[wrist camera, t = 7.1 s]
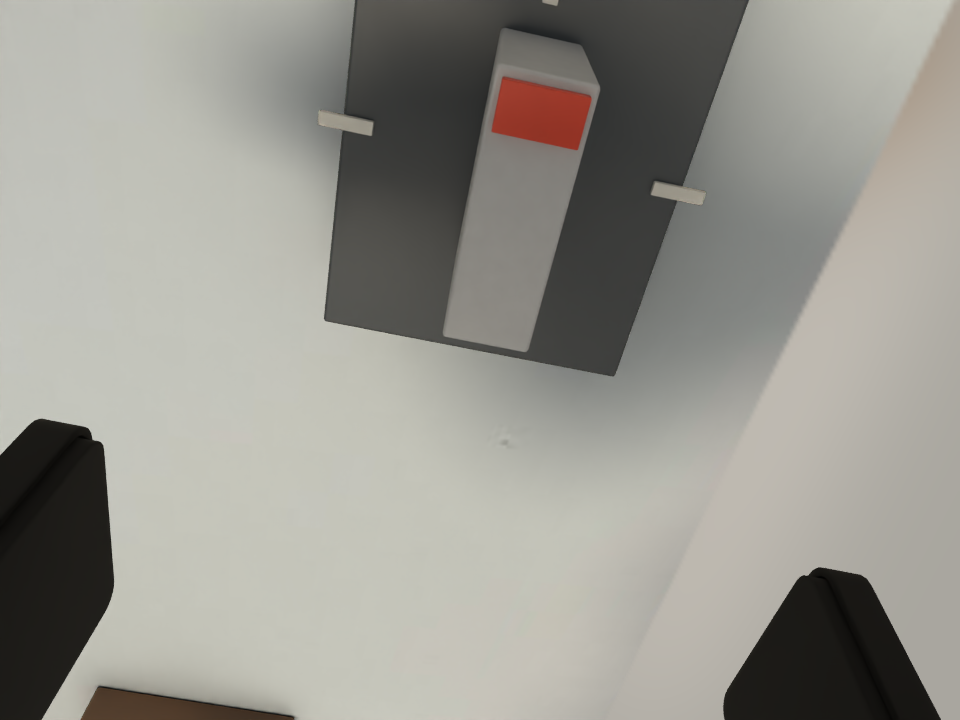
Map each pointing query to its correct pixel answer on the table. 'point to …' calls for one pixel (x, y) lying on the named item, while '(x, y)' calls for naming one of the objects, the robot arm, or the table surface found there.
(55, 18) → the table surface
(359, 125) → the dark grey flat block
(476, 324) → the grey selector knob
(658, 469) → the table surface
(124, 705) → the button housing
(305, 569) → the table surface
